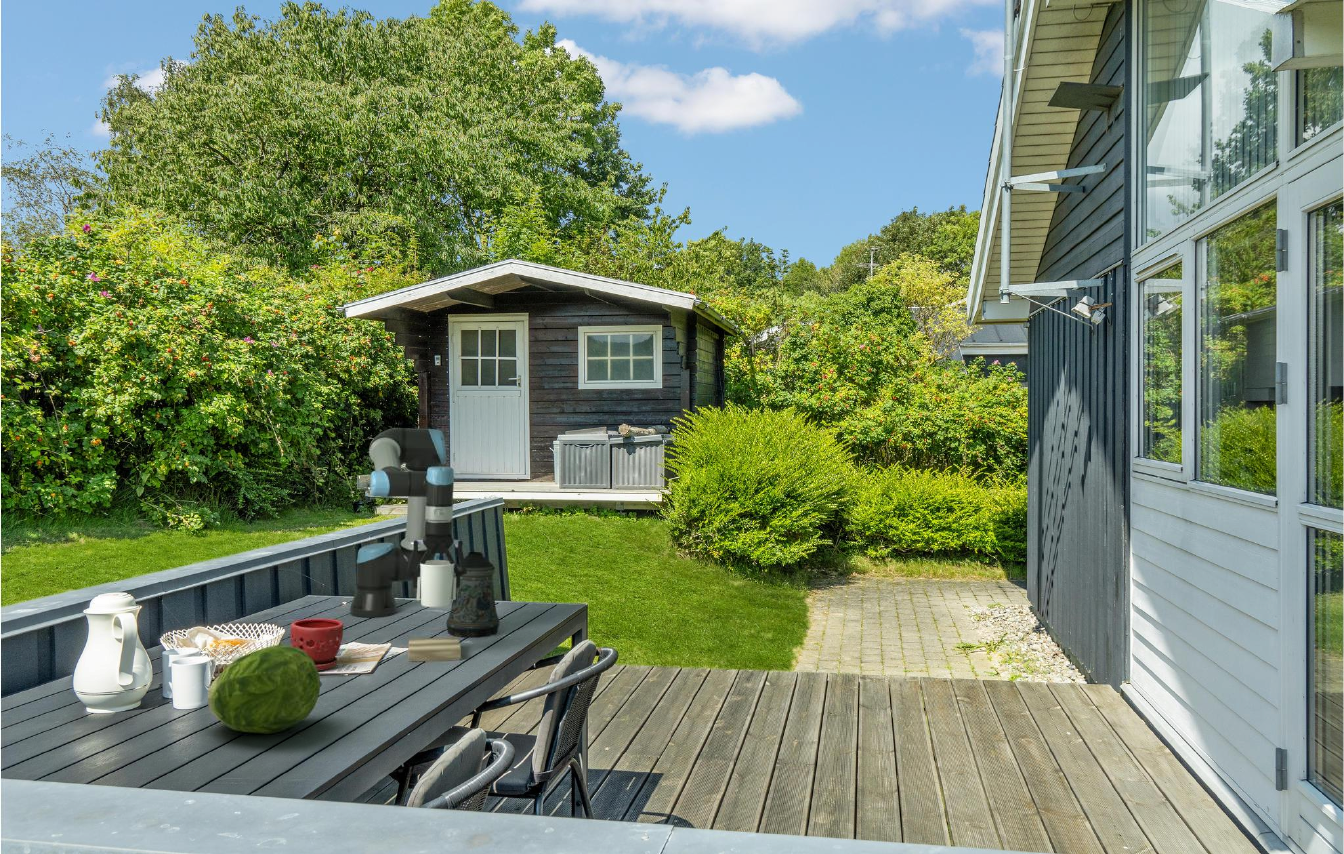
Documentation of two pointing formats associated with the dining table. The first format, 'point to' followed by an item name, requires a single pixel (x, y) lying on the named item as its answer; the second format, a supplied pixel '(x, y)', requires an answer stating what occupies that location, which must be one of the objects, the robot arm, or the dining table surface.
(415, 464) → the robot arm
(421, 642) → the plinth
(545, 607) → the dining table surface
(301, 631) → the plant pot
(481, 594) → the beer stein
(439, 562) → the candle holder
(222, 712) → the lettuce
